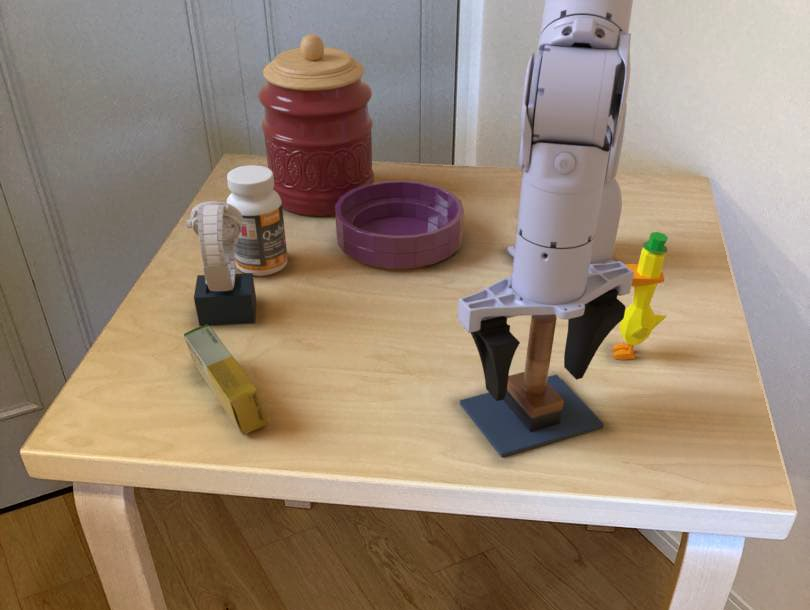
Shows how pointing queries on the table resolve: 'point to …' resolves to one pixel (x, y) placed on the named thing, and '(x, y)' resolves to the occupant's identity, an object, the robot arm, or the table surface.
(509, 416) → the mat
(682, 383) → the table surface
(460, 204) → the bowl
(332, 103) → the kitchen canister
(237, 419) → the medication box
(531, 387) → the wooden peg on base
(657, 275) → the toy figure
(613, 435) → the table surface
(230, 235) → the watch
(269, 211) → the pill bottle
